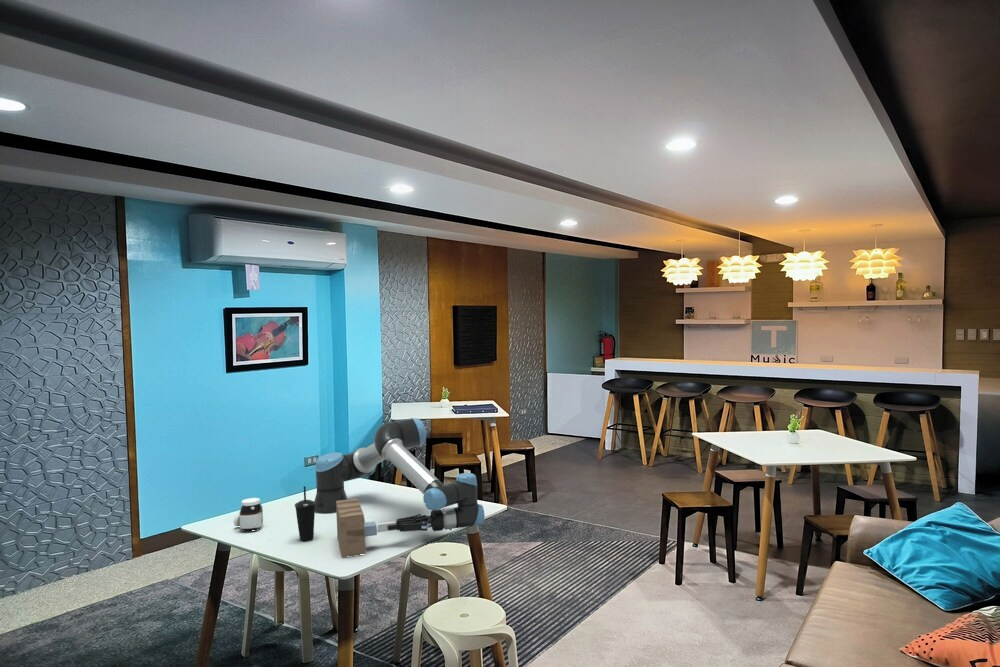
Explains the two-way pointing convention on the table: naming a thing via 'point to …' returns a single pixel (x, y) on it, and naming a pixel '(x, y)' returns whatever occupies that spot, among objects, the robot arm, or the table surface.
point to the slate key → (370, 528)
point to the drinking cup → (305, 518)
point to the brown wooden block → (350, 527)
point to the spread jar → (250, 515)
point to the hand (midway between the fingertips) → (377, 528)
